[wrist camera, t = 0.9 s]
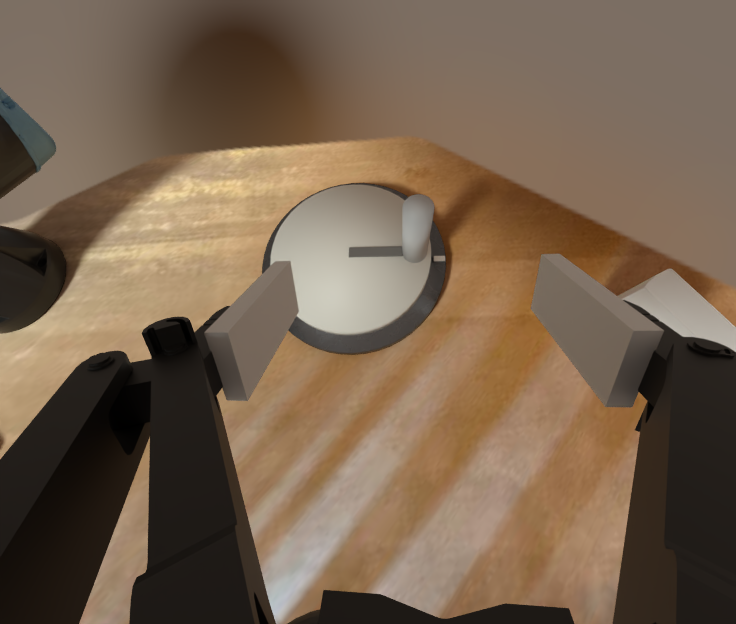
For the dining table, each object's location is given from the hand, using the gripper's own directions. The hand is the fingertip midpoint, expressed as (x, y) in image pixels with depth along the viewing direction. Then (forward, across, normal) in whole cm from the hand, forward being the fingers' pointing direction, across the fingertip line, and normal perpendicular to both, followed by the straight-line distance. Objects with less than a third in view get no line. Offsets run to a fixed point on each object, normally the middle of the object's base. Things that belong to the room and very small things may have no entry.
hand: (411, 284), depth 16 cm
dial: (+26, -7, -8) cm, 28 cm away
